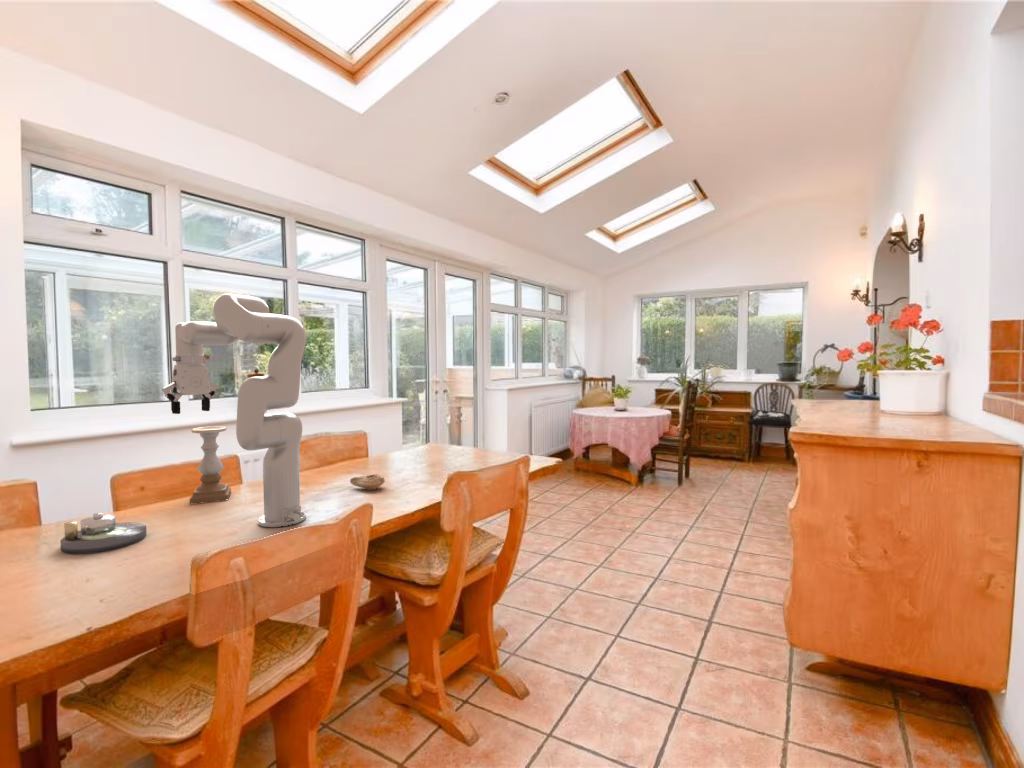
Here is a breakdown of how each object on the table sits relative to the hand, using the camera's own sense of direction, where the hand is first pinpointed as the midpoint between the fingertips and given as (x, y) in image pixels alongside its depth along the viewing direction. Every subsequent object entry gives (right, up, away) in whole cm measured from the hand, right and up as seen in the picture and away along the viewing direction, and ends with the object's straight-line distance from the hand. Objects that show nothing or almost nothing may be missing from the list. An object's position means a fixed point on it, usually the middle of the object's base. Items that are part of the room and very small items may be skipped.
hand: (191, 412), depth 163 cm
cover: (-2, -29, -34) cm, 45 cm away
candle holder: (+4, -30, +4) cm, 30 cm away
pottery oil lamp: (+54, -29, +17) cm, 63 cm away
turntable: (+2, -31, -36) cm, 48 cm away
